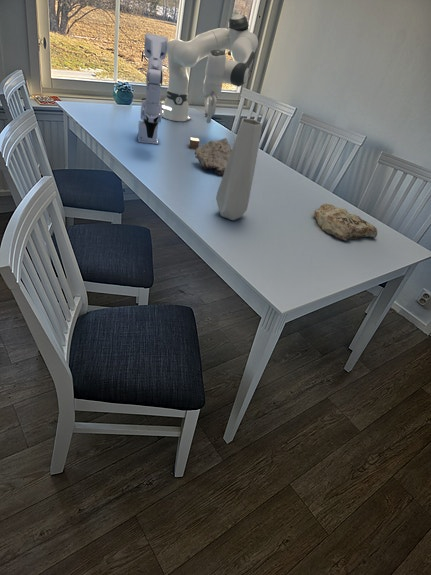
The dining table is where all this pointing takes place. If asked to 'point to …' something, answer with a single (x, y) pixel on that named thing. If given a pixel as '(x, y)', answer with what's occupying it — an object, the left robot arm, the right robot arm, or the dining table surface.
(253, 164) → the vase
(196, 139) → the block
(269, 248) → the dining table surface
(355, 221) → the stone
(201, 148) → the rock
